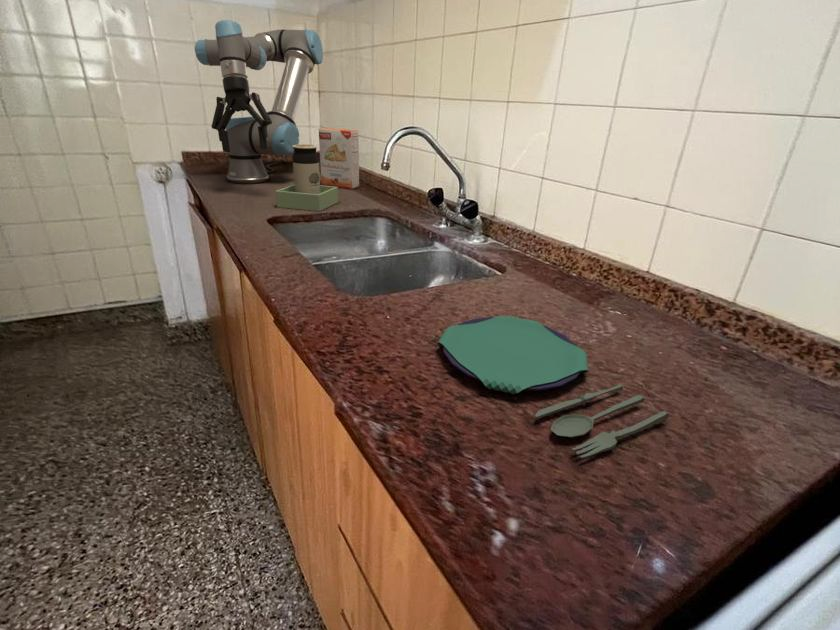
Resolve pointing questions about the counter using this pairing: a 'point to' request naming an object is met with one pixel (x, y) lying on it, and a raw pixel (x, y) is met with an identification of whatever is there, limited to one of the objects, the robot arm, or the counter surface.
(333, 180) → the cracker box
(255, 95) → the robot arm
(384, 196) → the counter surface
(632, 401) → the cutlery set
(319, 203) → the crate
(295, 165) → the travel mug
